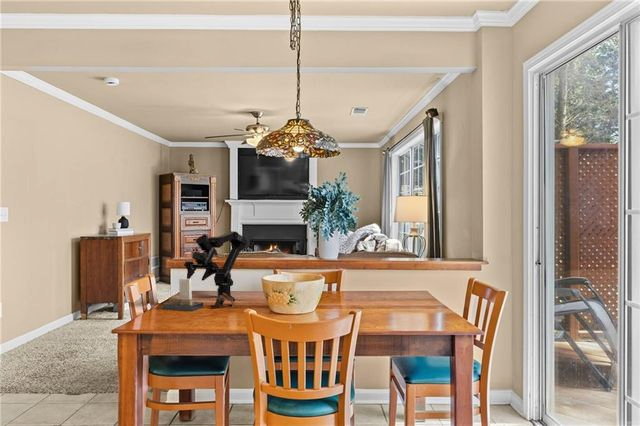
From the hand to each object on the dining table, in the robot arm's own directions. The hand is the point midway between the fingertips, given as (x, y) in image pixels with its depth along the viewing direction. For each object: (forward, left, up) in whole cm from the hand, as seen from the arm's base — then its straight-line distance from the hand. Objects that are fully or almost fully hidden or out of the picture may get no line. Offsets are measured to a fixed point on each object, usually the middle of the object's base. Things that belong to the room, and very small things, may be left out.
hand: (194, 279), depth 239 cm
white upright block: (+5, +5, -12) cm, 15 cm away
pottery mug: (-12, +11, -14) cm, 22 cm away
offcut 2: (+6, +10, -12) cm, 17 cm away
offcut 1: (+10, +6, -12) cm, 17 cm away
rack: (+7, +7, -13) cm, 16 cm away
